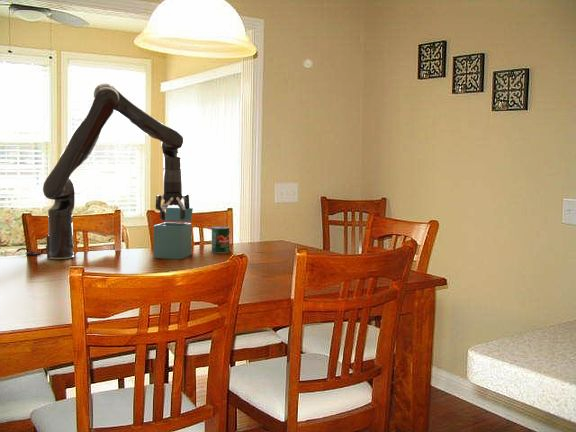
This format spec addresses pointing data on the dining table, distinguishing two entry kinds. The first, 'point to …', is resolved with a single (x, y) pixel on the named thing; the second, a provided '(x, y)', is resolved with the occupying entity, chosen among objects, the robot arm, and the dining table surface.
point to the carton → (172, 240)
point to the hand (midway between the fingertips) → (172, 219)
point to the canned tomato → (220, 239)
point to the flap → (178, 214)
